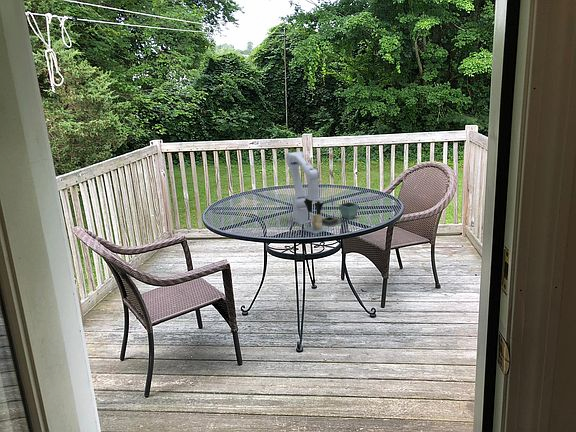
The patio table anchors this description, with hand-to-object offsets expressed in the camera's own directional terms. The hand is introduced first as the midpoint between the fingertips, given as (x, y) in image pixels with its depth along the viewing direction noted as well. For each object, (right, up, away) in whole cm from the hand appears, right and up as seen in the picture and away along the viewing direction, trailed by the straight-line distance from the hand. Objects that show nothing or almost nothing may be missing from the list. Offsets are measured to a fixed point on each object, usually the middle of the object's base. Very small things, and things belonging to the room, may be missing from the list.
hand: (314, 212), depth 269 cm
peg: (+2, -9, +3) cm, 10 cm away
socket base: (+10, -6, +15) cm, 19 cm away
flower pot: (+23, -3, +21) cm, 32 cm away
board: (+2, -10, +3) cm, 10 cm away
